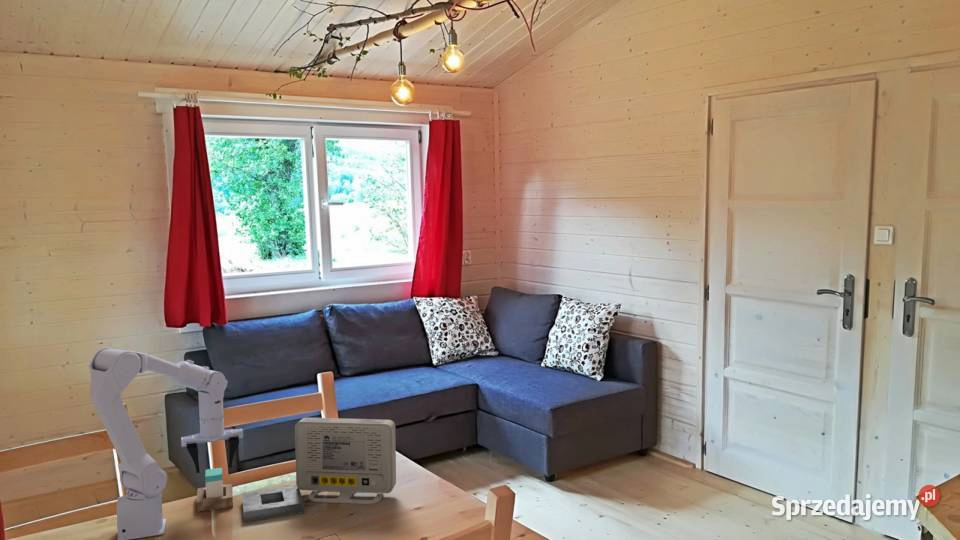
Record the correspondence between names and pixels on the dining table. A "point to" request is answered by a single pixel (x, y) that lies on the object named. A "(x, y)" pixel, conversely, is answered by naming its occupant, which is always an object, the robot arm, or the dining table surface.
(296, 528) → the dining table surface
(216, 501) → the frame
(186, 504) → the dining table surface
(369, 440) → the network device
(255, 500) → the port
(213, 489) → the plug
